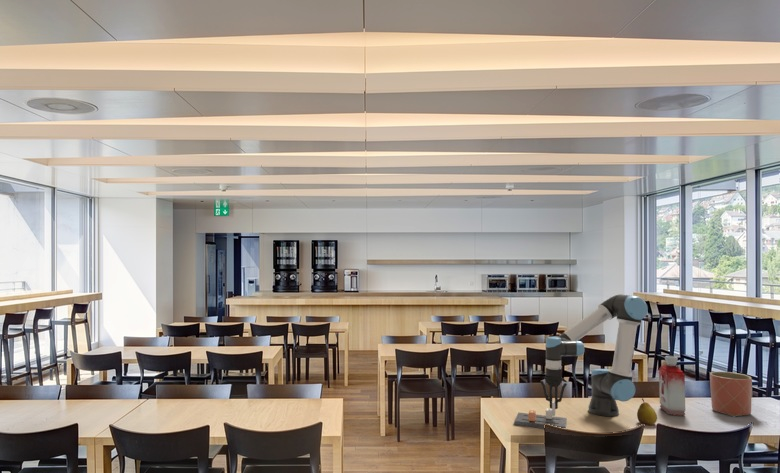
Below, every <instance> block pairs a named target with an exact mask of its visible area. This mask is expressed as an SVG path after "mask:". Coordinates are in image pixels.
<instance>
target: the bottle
mask: <svg viewBox="0 0 780 473" xmlns="http://www.w3.org/2000/svg"><path fill="white" fill-rule="evenodd" d="M664 360H665V364H663V365H661V366H660V367H659V368H658V373H659V374H658V378H659V380H658V381H659V382H658V384H659V407H660V408H661V409H662V410H663V411H665V413H667V414H668V415H669V416H674V417H675V416H678V417H684V416H685V415H686V413H685V412H686V382H685V381H686V380H685V379H686V377H685V375H686V374H685V373H684V371H683V370H681V369H680V368H679V367H678V366H676V365H677V363H678V357H677V356H674V355H666V356H664Z"/></svg>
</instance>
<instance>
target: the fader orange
mask: <svg viewBox="0 0 780 473" xmlns="http://www.w3.org/2000/svg"><path fill="white" fill-rule="evenodd" d="M528 414H529V421H535V420H536V415H537V412H536V410H529V411H528Z"/></svg>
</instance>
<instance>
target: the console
mask: <svg viewBox="0 0 780 473" xmlns="http://www.w3.org/2000/svg"><path fill="white" fill-rule="evenodd" d="M567 420H568V419H567V417H563V416H562V417H561V416H553V417H552V419H546V414H544V415H543V414H536V420H535V421H529V413H526V412H518V413H517V415H516V417H515V419H514V426H518V427H519V426H520V427H521V426H522V427H527V428H528V427H530V428H538V429H544V425H545V424H550V425H553V426H557V427H561V428H566V429H567V422H568V421H567Z"/></svg>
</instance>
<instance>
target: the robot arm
mask: <svg viewBox="0 0 780 473" xmlns="http://www.w3.org/2000/svg"><path fill="white" fill-rule="evenodd" d="M648 308H649V307H648V304H647V303H646V301H645V300H644V299H643V298H642V297H640V296H637V295H630V294H629V295H628V294H620V293H619V294H615V295H613V296H610V297H609V298H607V299H606V300H604V301H603V302H601V303H600V304H598V306H597V308H596V309H595V310H594V311H592V312H591V313H590V314H588V315H587V316H585V317H583V319H581V320H579V321H578V322H577V323H575V324H574V325H572V326H571V327H570V328H568V329H567V330H566V331H564V332H563V333H562V334H560V335H555V336H554V335H553V336H548V337H546V338H545V377H544V379H542V380H540V384H541V386H542V389H543V393H544V397H545V401H548V402H549V409H552V416H554V417H556V410H557V409H558V408H559V407H558V404H559V403H561V402H562V399H563V396H564V392H565V388H566V387H567V385H568V383H567V382H566V381H564V380H563V378H562V357H580V356H583V355H584V354H585V351H586V350H585V344H584V343H583V341H580V340H581V339H583V337H585V336H586V335H588V334H590V332H591V333H592V331H593V330H595V329H596V328H598V327H600V325H602V324H603V323H605V322H607V320H609V321H611V320H613V319H615V318H616V321H617V322H618V329H617V335H616V341H615V348H614V354H613V361H612V366H611V368H610V369H609V368H595V369H592V370H591V375H590V379H591V398H590V401H589V404H588V412H589V413H591V414H593V415H596V416H603V417H615V416H619V414H620V413H619V412H620V410H619V406H618V404H617V401H620V402H623V403H624V402H628V401H629V400H631V399H633V397H634V396H635V394H636V386H635V383H634V382H633V375H632V373H631V369H632V368H631V367H632V362H633V355H634V348H635V343H636V337H637V336H636V334H637V329H638V326H640V325H641V324H642V320H643V319H644V318H645V317H646V316H647V314H648V310H649V309H648ZM546 383H547V385H548V386H549V394H548V390H547V385H546ZM560 385H561V391H560V394H558V393H559V392H558V391H559V390H558V388H559V386H560ZM553 388H554V401H553Z"/></svg>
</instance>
